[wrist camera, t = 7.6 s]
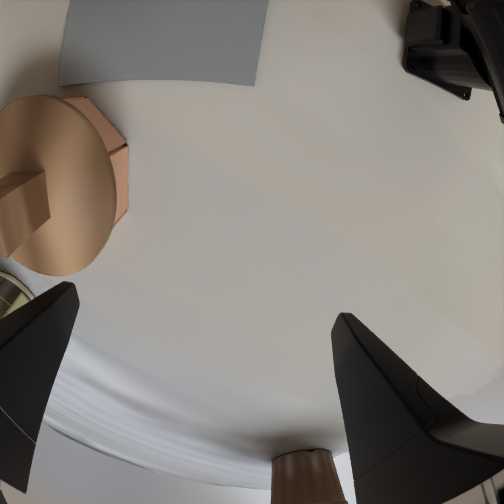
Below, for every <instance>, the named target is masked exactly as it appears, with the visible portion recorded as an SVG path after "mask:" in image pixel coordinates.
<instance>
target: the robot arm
mask: <svg viewBox="0 0 504 504" xmlns="http://www.w3.org/2000/svg"><path fill="white" fill-rule="evenodd" d="M447 1H450V3H451V5H449V6H445V7H443V6H441V5H438V6H435V7H433V6H431V5H429V4H427V3H425V2H423V1H421V0H412V1H411V2H410V14H409V15H408V16H407V25H406V34H405V44H406V49H405V56H404V63H403V68H404V70H405V71H406V72H407V73H409V74H411V75H413V76H416V77H418V78H420V79H422V80H425V81H427V82H429V83H431V84H433V85H435V86H437V87H439V88H441V89H443V90H445V91H447V92H449V93H451V94H453V95H455V96H457V97H458V98H460V99H462V100H466V101H467V100H469V99H470V96H471V90H472V88H478V89H484V90H489V91H493V93H494V96H495V99H496V102H497V105H498V108H499V111H500V114H499V116H500V119H501V122H502V123H503V124H504V0H447ZM416 3H417V4H418V5H419V7H418V6H417V5H416ZM409 64H410V65H411V66H412V69H411V70H410V68H409ZM464 92H465V96H464ZM79 304H80V303H79V298H78V294H77V290H76V286H75V284H74V283H72V282H67V281H63V282H61V283H60V284H58V285H56V286H54V287H53V288H51V289H49V290H47V291H46V292H44V293H42V294H41V295H39V296H37V297H36V298H34V299H32V300H31V301H29V302H27V303H26V304H24V305H22V306H21V307H19V308H17V309H16V310H14V311H13V312H11V313H9V314H8V315H6V316H5V317H3V318H1V319H0V486H1V482H2V481H3V482H5V483H7V484H8V485H10V486H12V487H14V488H15V489H17V490H19V491H21V492H23V493H25V494H26V491H27V485H28V480H29V474H30V469H31V464H32V459H33V454H34V450H35V446H36V444H35V443H36V441H37V437H38V433H39V430H40V426H41V422H42V419H43V415H44V412H45V408H46V405H47V402H48V399H49V396H50V393H51V389H52V386H53V384H54V381H55V378H56V375H57V372H58V369H59V367H60V364H61V361H62V359H63V356H64V353H65V351H66V348H67V345H68V343H69V339H70V336H71V332H72V329H73V326H74V322H75V319H76V316H77V313H78V310H79ZM331 340H332V350H333V361H334V371H335V378H336V383H337V388H338V393H339V398H340V403H341V408H342V414H343V419H344V424H345V430H346V436H347V442H348V447H349V454H350V460H351V466H352V473H353V479H354V480H355V481H354V487H355V495H356V502H357V504H504V425H500V424H487V423H480V422H477V421H474V420H472V419H470V418H469V417H467V416H466V415H465V414H464V413H462V412H461V411H460V410H459V409H457V408H456V407H455V406H453V405H452V404H451V403H450V402H449V401H447V400H446V399H445V398H444V397H442V396H441V395H440V394H439V393H438V392H436V391H435V390H434V389H433V388H432V387H431V386H430V385H429V384H427V383H426V382H425V381H424V380H423V379H422V378H421V377H420V376H419V375H418V376H417V373H416V372H415V371H414V370H412V369H411V368H410V367H409V366H408V365H407V364H406V363H405V362H404V361H403V360H402V359H401V358H400V357H399V356H398V355H396V354H395V353H394V352H393V351H392V350H391V349H390V348H389V347H388V346H387V345H386V344H385V343H384V342H382V341H381V340H380V339H379V338H378V337H377V336H376V335H375V334H374V333H373V332H372V331H371V330H369V329H368V328H367V327H366V326H365V325H364V324H363V323H362V322H361V321H360V320H358V319H357V318H356V317H355V316H354V315H353V314H352V313H343V312H342V313H339V315H338V317H337V319H336V321H335V324H334V326H333V328H332V331H331ZM0 504H7V502H6V500H5V498H4V496H3V493H2V491H1V490H0Z"/></svg>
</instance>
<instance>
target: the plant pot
mask: <svg viewBox="0 0 504 504" xmlns="http://www.w3.org/2000/svg"><path fill="white" fill-rule="evenodd" d="M271 504H348V502H347V501H346V500H345V497H344V494H343V491H342V487H341V485H340V481H339V478H338V475H337V471H336V467H335V464H334V461H333V457H332V454H331V452H329V451H327V450H322V449H315V450H314V451H312V452H310V451H307V450H302V451H297V452H291V453H288V454H284V455H282V456H280V457H277V458H276V459H274V462H272V483H271Z"/></svg>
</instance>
